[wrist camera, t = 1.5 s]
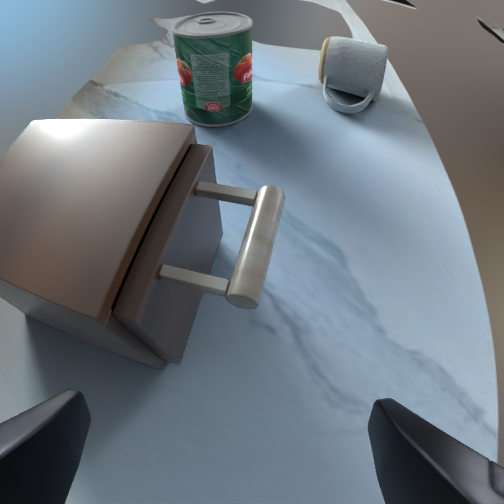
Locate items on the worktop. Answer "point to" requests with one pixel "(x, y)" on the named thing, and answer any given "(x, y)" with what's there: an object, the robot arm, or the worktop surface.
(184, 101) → the canned tomato
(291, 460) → the worktop surface
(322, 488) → the worktop surface
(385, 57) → the ceramic mug
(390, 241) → the worktop surface
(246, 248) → the drawer
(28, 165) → the storage box
